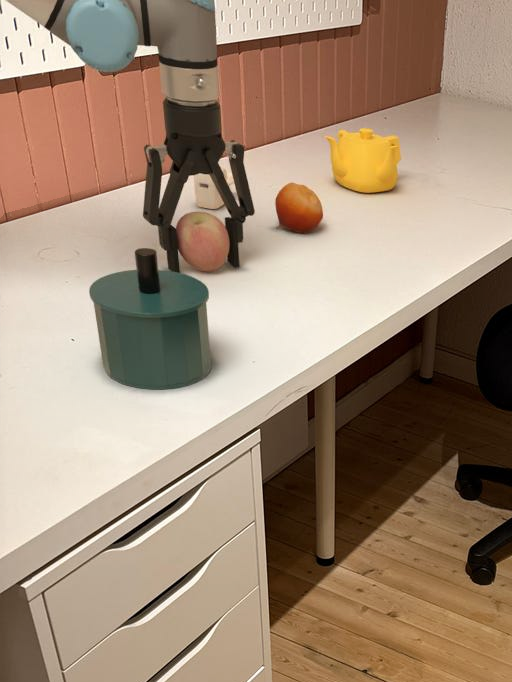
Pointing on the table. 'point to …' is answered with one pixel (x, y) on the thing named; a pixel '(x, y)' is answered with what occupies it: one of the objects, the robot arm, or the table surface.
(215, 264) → the apple
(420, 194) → the table surface
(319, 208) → the fruit
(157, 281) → the pot lid
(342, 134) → the teapot
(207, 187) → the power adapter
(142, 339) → the pot
